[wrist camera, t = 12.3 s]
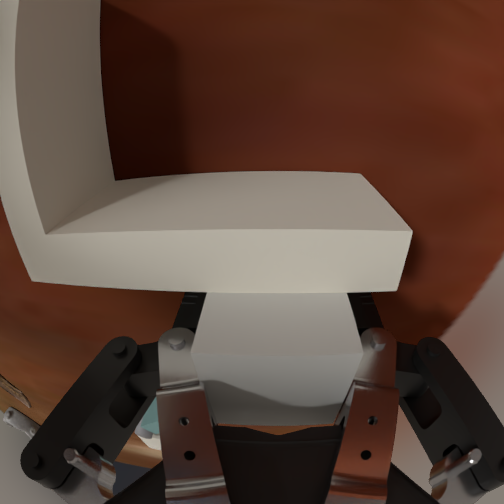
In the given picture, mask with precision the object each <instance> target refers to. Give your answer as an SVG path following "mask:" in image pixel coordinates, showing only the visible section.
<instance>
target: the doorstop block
mask: <svg viewBox="0 0 504 504" xmlns="http://www.w3.org/2000/svg"><path fill="white" fill-rule="evenodd" d="M190 353H191V356H192V359H193V363H194V366H195V369H196V372H197V375H198V378H199V381H200V382H204V385H205V388H206V391H207V394H208V398H209V401H210V404H211V407H212V410H213V413H214V414H215V417H216V420H217V423H225V424H240V425H269V426H286V425H315V424H330V423H333V422H334V420H335V418H336V416H337V414H338V412H339V410H340V408H341V406H342V403H343V401H344V399H345V397H346V395H347V392H348V390H349V388H350V386H351V383H352V381H353V378H354V376H355V374H356V371H357V369H358V366H359V364H360V361H361V359H362V356H363V354H364V352H363V348H362V344H361V341H360V337H359V333H358V330H357V326H356V322H355V319H354V315H353V312H352V308H351V305H350V302H349V298H348V295H347V293H215V292H207V295H206V298H205V302H204V305H203V309H202V312H201V316H200V319H199V323H198V326H197V330H196V334H195V337H194V341H193V345H192V348H191V352H190Z"/></svg>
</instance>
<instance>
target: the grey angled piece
mask: <svg viewBox="0 0 504 504" xmlns="http://www.w3.org/2000/svg"><path fill="white" fill-rule="evenodd" d="M100 2H101V0H0V196H1V200H2V203H3V206H4V210H5V213H6V216H7V219H8V222H9V225H10V228H11V231H12V234H13V236H14V239H15V242H16V244H17V247H18V250H19V252H20V255H21V257H22V259H23V262H24V264H25V266H26V269H27V271H28V273H29V275H30V278H31V280H32V281H36V282H46V283H57V284H68V285H80V286H93V287H107V288H122V289H139V290H159V291H183V292H215V293H352V292H383V291H397V288H398V285H399V281H400V278H401V275H402V271H403V268H404V264H405V260H406V257H407V253H408V249H409V245H410V241H411V237H412V233H413V231H412V230H411V229H410V227H409V226H408V225H407V224H406V223H405V221H404V220H403V219H402V218H401V217H400V216H399V215H398V213H397V212H396V211H395V210H394V209H393V208H392V207H391V206H390V204H389V203H388V202H387V201H386V200H385V199H384V198H383V197H382V196H381V195H380V194H379V193H378V191H377V190H376V189H375V188H374V187H373V186H372V185H371V184H370V183H369V182H368V181H367V180H366V179H365V178H364V177H363V176H362V175H361V174H357V173H338V172H308V171H248V172H217V173H198V174H182V175H168V176H157V177H146V178H136V179H127V180H118V181H115V178H114V173H113V167H112V162H111V156H110V149H109V143H108V136H107V129H106V121H105V113H104V103H103V93H102V80H101V63H100ZM139 437H140V436H139ZM140 438H141V439H142V440H143V441H144V442H145V443H146V445H147V446H148V447H150V448H153V449H158V450H161V442H160V433H159V434H154V433H153V435H152V439H146V438H143V437H140Z"/></svg>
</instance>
